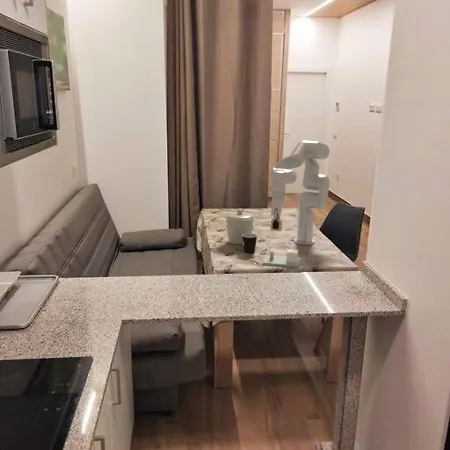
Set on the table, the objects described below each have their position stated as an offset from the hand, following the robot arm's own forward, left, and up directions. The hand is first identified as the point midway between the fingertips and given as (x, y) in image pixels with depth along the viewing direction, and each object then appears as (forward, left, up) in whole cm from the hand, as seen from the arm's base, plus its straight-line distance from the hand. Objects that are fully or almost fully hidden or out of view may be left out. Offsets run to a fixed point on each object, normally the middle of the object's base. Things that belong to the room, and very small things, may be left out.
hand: (276, 227), depth 241 cm
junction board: (+3, +4, -19) cm, 19 cm away
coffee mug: (-11, -16, -19) cm, 27 cm away
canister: (-26, -25, -19) cm, 41 cm away
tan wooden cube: (0, 0, -1) cm, 1 cm away
